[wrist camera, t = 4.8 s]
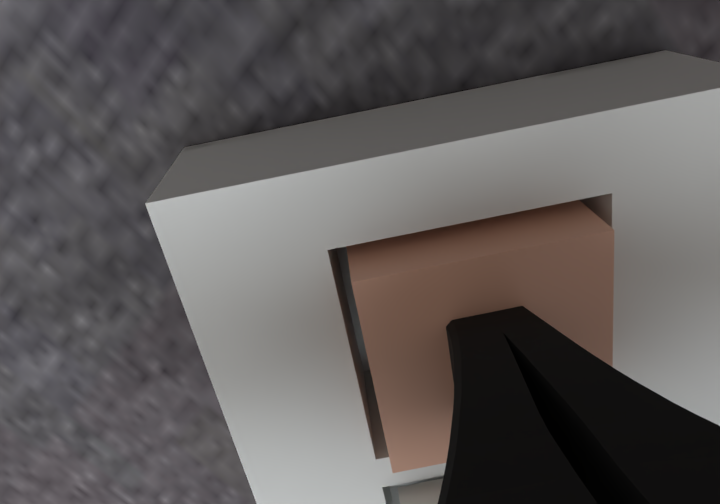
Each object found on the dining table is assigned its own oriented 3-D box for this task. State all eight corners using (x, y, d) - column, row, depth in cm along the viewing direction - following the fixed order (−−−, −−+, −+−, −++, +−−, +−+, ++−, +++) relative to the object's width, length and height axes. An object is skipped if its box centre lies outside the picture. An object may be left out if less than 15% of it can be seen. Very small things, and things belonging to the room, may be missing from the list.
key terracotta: (544, 170, 12) (614, 230, 9) (552, 339, 14) (611, 430, 11) (341, 211, 12) (351, 282, 9) (376, 374, 14) (392, 473, 11)
